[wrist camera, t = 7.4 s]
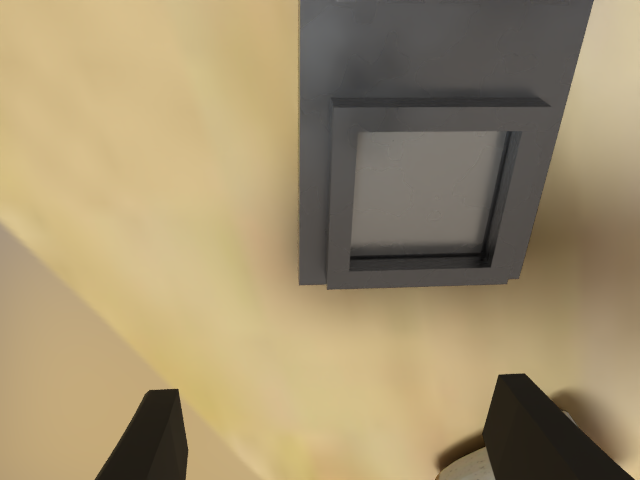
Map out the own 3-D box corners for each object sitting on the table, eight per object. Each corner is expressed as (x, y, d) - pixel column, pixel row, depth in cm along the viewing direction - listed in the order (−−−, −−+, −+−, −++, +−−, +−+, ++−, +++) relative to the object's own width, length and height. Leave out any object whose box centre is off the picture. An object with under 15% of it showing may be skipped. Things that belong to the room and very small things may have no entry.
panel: (660, -333, 13) (718, -367, 12) (509, 264, 23) (528, 293, 21) (299, -357, 13) (303, -398, 11) (297, 270, 22) (300, 300, 20)
